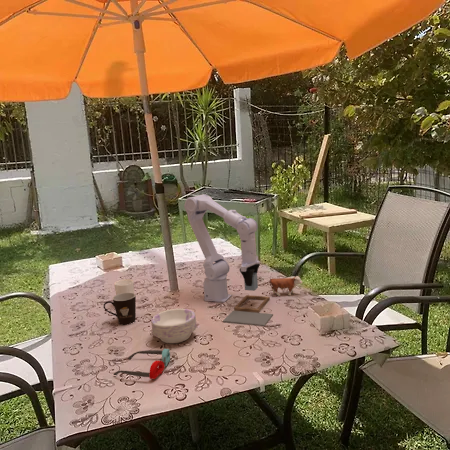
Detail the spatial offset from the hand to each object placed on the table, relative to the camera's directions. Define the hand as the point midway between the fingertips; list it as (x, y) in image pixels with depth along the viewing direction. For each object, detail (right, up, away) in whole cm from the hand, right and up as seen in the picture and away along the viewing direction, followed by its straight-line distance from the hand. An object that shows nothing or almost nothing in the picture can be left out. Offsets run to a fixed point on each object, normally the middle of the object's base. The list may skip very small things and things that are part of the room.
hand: (250, 283), depth 185 cm
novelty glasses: (-35, -21, -42) cm, 59 cm away
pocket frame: (+1, -9, +2) cm, 9 cm away
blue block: (0, -2, 0) cm, 2 cm away
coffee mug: (-49, -14, -4) cm, 51 cm away
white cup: (-51, -11, +13) cm, 54 cm away
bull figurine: (+15, -6, +10) cm, 19 cm away
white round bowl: (-27, -16, -22) cm, 39 cm away
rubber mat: (-2, -12, -11) cm, 16 cm away
